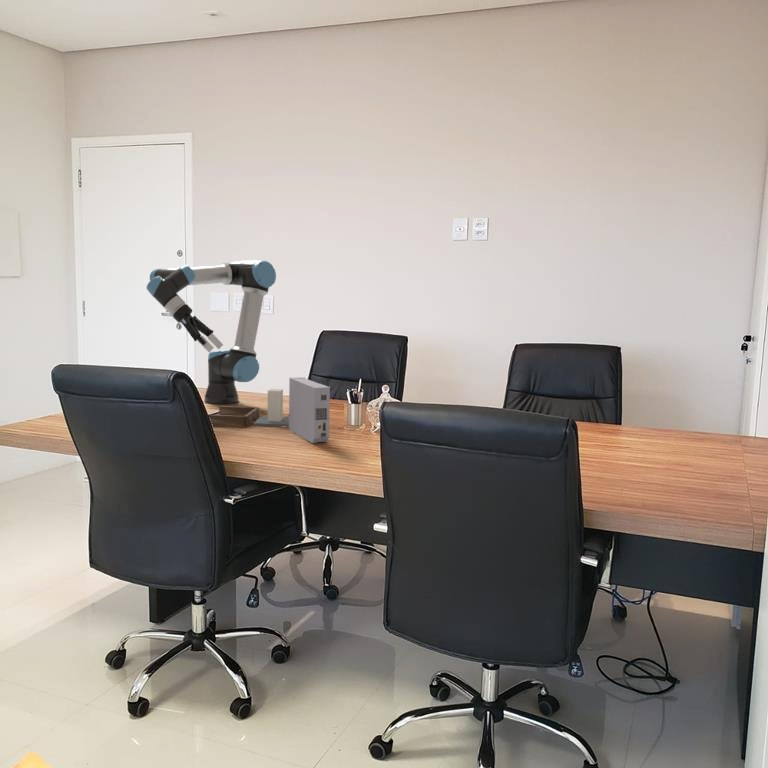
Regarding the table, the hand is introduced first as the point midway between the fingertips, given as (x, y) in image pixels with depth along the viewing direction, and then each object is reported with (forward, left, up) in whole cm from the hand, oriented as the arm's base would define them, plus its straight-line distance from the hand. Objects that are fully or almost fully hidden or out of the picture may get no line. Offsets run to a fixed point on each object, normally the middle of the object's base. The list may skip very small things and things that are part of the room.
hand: (216, 348), depth 309 cm
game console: (+32, +43, -28) cm, 60 cm away
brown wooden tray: (+8, +9, -28) cm, 30 cm away
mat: (+8, +26, -28) cm, 39 cm away
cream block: (+8, +26, -27) cm, 38 cm away
